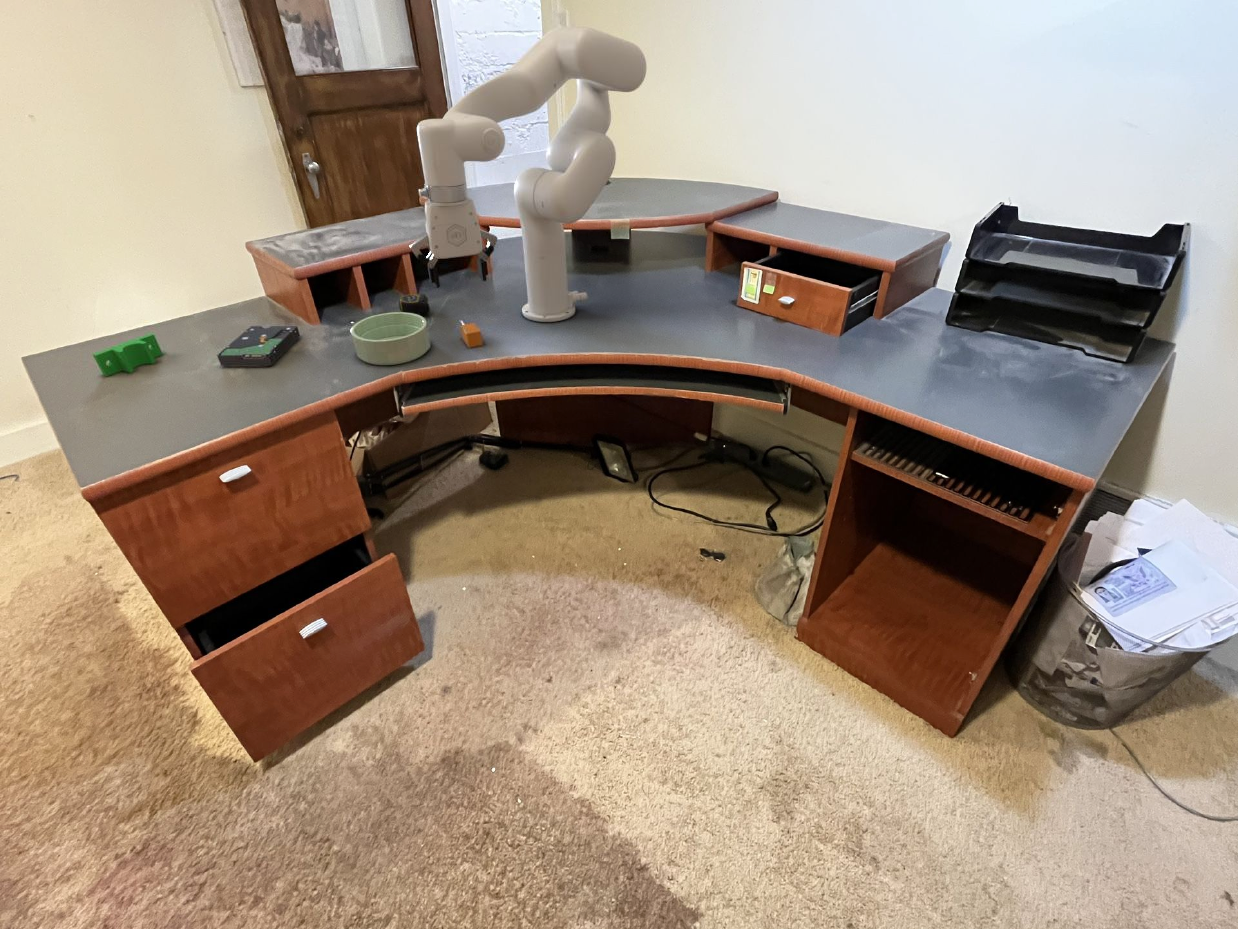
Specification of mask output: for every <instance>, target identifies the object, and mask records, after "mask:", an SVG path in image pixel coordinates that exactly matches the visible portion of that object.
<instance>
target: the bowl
mask: <svg viewBox="0 0 1238 929" xmlns="http://www.w3.org/2000/svg"><path fill="white" fill-rule="evenodd" d="M349 331H350V336H351V338H352V342H353V347H354V350H355V354H356V357H357V358H359V359H360V360H361V361H363V362H365V363H367V364H370V365H377V366H394V365H400V364H405V363H408V362H412V361H414V360H416V359H419V358H421V357H422V356H423V355H425V353H427V352H428V351H429V349H430V348H431V344H432V343H431V338H430V333H429V328H428V322H427V320H426V318H425V317H423V316H422V315H417V314H413V313H405V312H401V311H399V312H395V311H394V312H386V313H385V312H384V313H380V314H374V315H370V316H368V317H365V318H363V319H361V320H358V321H357V322H356V323H354V325H352V326H351V329H350V330H349Z"/></svg>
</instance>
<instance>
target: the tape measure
mask: <svg viewBox="0 0 1238 929" xmlns="http://www.w3.org/2000/svg"><path fill="white" fill-rule="evenodd" d="M428 300H429V297H427V296H426V294H425V293H420V294H406V295H403V296H402V297H400V298H399V299H398V309H399V312H405V313H413V314H417V315H420V316H422V315H425V314H428V313H429V312H430V305H429V301H428Z"/></svg>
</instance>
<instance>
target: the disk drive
mask: <svg viewBox="0 0 1238 929" xmlns="http://www.w3.org/2000/svg"><path fill="white" fill-rule="evenodd" d="M300 337H301V334H300V331H299V328H298V326H297V325H271V326H269V327H263V326H261V325H250V327H248V328H247V329H246V330H245V331H244V332H242V333H241V334H240V335H239V336H237V338H235V339H234V340H233V341H231V343H230V344H228V345H227V346H226V347H225V348H224V349H222V350H221V351H220V352H219V353H218V354H217V355H216V357H217V359H218V362H219V363H220V367H221V366H222V367H224V366H225V367H268V366H272V365H274V364H275V363H276V362H277V360H279V359H280V358H281V357H282V355H284V353H285V352H287V351H288V350H289V348H290V347H291V346H292V345H293V344H294V343H295V342H296V341H297V340H298V339H299V338H300Z"/></svg>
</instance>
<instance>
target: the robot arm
mask: <svg viewBox="0 0 1238 929" xmlns="http://www.w3.org/2000/svg"><path fill="white" fill-rule="evenodd" d="M647 69H648V67H647V59H646V56H645V54H644V52H643V50H642V49H641V48H640V47H639V46H638V45H637V44H635V43H633V42H631V41H628V40H625V39H623V38H620V37H617V36H614V35H611V34H609V33H607V32H604V31H601V30H598V29H595V28H592V27H588V26H558V27H554V28H552V29H550V30H549V31H547V32H546V33H545V34H544V35H542V37H540V38H539V40H538V41H536V42H535V44H533V45H532V46H531V47H530V48H529V49H528V50H527V51H526V52H525V53H524V54H523V55H522V56H521V57H519V59H517V61H516V62H515V63H514V64H513V65H511V67H509V68H508V69H507V70H505V71H503V72H501V73H499V74H497V75H495V76H493V77H492V78H491V79H489V80H487V81H485V82H483V83H482V84H479V85H478V86H476V87H475V88H473V89H471V90H470V91H468V92H467V93H465V95H463V96H462V97H461V98H460V99H459V100H458V101H457V102H456V103H455V104H453V105H452V106H451V108H450V109H449V110H448V111H446V113H445V114H444V115H443V117H442V118H428V119H424V120H421V121H419V122H418V124H417V127H416V132H417V133H416V134H417V141H418V147H419V153H420V157H421V165H422V171H423V178H424V187H423V188H419V189H418V196H419V198H426V199H427V200H426V201H425V202H424V221H425V222H424V226H425V234H423V235H422V236H421V237H419V238H418V239H417V240H415V241H414V242H412V243H411V244H409V249H410V250H411V252H412V253H413V254H414V256H415V257H416V258H417V260H418V261H419V262H421V264H424V265H425V266H426V267H427V270H428V278H429V282H430V284H433V286H434V287H435V289H439V288H440V287H441V283H440V278H439V272H438V268H437V266H436V264H437V262H438V260H439V259H442V260H443V259H451V258H452V259H453V258H462V257H469V256H474V255H477V256H478V257H477V259H476V261H477V271H478V277H479V278H480V279H481V281H482V282H486V281H487V276H489V269H488V261H489V258H490V256H491V255H492V253H494V251H495V247H496V245H497V241H498V238H499V237H497V235H496V234H494V233H491V232H488V231H486V230H484V229H482V228H480V223H479V218H478V213H477V209H476V205H475V203H474V200H473V199H471V198H469V193H468V185H467V184H468V183H467V176H466V170H465V162H480V163H485V162H486V163H487V162H492V161H493V160H495V159H497V158H498V157H499V156H501V154H502V153H503V151H504V149H505V145H506V137H505V133H504V130H503V129H502V127H501V125H500V124H499V123H501V122H504V121H506V120H510V119H514V118H521V117H524V116H526V115H529V114H532V113H535V112H537V111H538V110H540V109H541V108H542V107H543V106H544V105H545V104H546V103H547V102H548V101H549V100H550V99H551V97H553V96H554V94H556V93H557V92H558V91H559V90H560V89H561V88H562V87H563V86H564V85H565V84H566V83H567V82H569V81H570V80H572V79H573V80H576V88H577V89H576V90H577V92H576V93H577V94H576V102H575V104H574V106H573V108H572V110H571V111H570V113H569V114H568V116H567V117H566V119H565V120H564V122H563V123H562V124H561V126H560V127H559V128H558V130H557V132H556V133H555V134H554V136H553V137H552V138H551V140H550V142H549V144H548V146H547V149H546V154H545V157H546V162H547V165H548V166H549V167H550V169H549V168H544V167H537V166H536V167H535V166H534V167H529V168H526V169H524V170H523V171H521V172H520V173H519V174H518V176H517V177H516V179H515V182H514V186H513V199H514V204H515V207H516V211H517V214H518V219H519V223H520V230H521V237H522V249H523V250H522V251H523V261H524V272H525V282H526V284H525V285H526V294H527V303H526V304H524V305H523V306H522V308H521V312H522V315H523V316H524V317H525V318H526V319H527V320H531V321H534V322H538V323H539V322H541V323H553V322H555V323H556V322H559V321H564V320H567V319H569V318H571V317H572V316H574V315H575V313H576V306H575V304H576V303H579V302H586V301H587V300H588V299H589V298H588V293H587V292H585V291H584V292H579V291H578V290H574V291H570V290H569V286H568V268H567V248H566V246H567V243H566V234H565V233H566V232H565V230H564V226H563V224H565V225H570V224H575V223H577V222H578V221H580V220H581V219H582V218H583V217H584V216H585V215H586V213H588V210H589V209H591V207H592V205H593V204H594V202H595V201H596V199H597V198H598V196H599V195H600V193H601V192H602V191H603V189H604V188H605V186H606V185H607V183H608V181H610V178H611V177H612V176H613V172H614V169H615V166H616V162H617V161H616V160H617V151H616V148H615V144H614V142H613V140H612V139H611V138H610V137H609V136H608V135H606V134H607V132H608V130H609V129H610V126H611V123H612V122H611V121H612V112H611V104H610V97H609V92H619V93H631V92H634V91H636V90H637V89H639V88H640V87H641V86H642V84H643V82H644V81H645V78H646V75H647ZM483 239H485V240H487V244H486V245H485V246H483ZM426 245H427V248H428V251H429V253H428V255H427V256H425V255H424V254H423V253H422V252H421V248H423V247H424V246H426ZM483 247H484V248H483Z"/></svg>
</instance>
